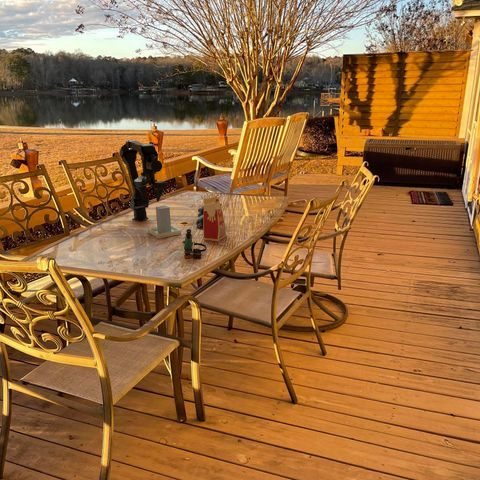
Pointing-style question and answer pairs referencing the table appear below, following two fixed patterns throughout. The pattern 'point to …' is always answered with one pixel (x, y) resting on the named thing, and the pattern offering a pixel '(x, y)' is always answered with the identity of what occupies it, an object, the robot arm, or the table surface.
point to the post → (163, 219)
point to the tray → (155, 233)
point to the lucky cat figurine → (201, 216)
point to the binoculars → (189, 244)
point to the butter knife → (173, 254)
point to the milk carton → (213, 220)
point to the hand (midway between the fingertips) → (151, 200)
